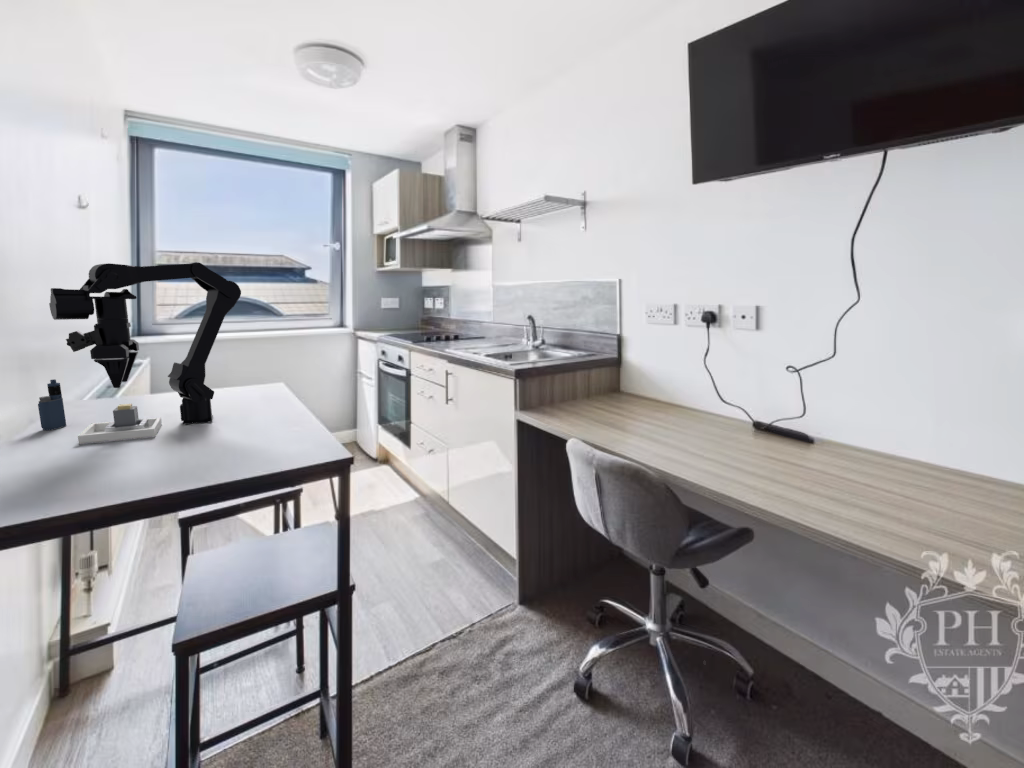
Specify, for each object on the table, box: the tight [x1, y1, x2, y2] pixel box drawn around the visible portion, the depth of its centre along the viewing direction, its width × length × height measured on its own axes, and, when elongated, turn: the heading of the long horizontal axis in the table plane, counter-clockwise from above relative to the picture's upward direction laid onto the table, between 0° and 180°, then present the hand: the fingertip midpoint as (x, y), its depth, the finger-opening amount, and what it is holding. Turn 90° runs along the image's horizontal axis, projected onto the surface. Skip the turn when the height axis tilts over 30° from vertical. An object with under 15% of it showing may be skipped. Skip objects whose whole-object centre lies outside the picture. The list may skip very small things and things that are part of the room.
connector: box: [112, 403, 140, 427], centre depth 119 cm, size 4×4×7 cm
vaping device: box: [37, 379, 67, 431], centre depth 122 cm, size 3×5×12 cm, turn 174°
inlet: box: [105, 418, 149, 433], centre depth 119 cm, size 7×7×2 cm
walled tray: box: [77, 417, 163, 445], centre depth 119 cm, size 14×12×2 cm
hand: (120, 384), depth 117 cm, fingers open, 9 cm apart
